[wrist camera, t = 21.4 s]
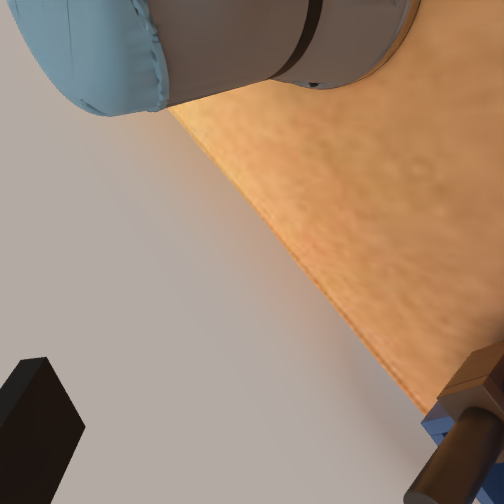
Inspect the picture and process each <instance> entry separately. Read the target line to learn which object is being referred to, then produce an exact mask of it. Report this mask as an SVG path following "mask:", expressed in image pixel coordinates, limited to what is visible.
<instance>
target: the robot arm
mask: <svg viewBox="0 0 504 504" xmlns="http://www.w3.org/2000/svg"><path fill="white" fill-rule="evenodd" d="M419 2H420V0H7V3H8V5H9V8H10V10H11V12H12V14H13V17H14V19H15V21H16V23H17V25H18V28H19V30H20V32H21V34H22V36H23V38H24V40H25V42H26V43H27V45H28V47H29V49H30V51H31V52H32V54H33V55H34V57H35V59H36V60H37V62H38V64H39V65H40V67H41V68H42V70H43V71H44V72H45V74H46V75H47V77H48V78H49V79H50V80H51V82H52V83H53V84H54V85H55V87H56V88H57V89H58V90H59V91H60V92H61V93H62V94H63V95H64V96H65V97H66V98H68V100H70V101H71V102H72V103H73V104H75V105H76V106H78V107H80V108H81V109H83V110H85V111H87V112H89V113H92V114H95V115H99V116H108V117H112V116H118V115H124V114H129V113H135V112H141V111H148V112H158V111H160V110H162V109H164V108H168V107H171V106H175V105H178V104H182V103H185V102H189V101H193V100H196V99H200V98H203V97H207V96H210V95H214V94H218V93H221V92H225V91H228V90H232V89H235V88H239V87H243V86H246V85H250V84H253V83H257V82H260V81H264V80H268V79H272V80H276V81H280V82H285V83H292V84H295V85H298V86H301V87H306V88H311V89H320V90H321V89H332V88H337V87H340V86H344V85H347V84H350V83H353V82H356V81H358V80H361V79H363V78H365V77H367V76H368V75H370V74H372V73H373V72H374V71H376V70H377V69H378V68H380V67H381V66H382V65H383V64H384V63H385V62H386V61H387V60H388V59H389V58H390V57H391V56H392V55H393V53H394V52H395V51H396V49H397V48H398V47H399V45H400V44H401V42H402V41H403V39H404V37H405V36H406V34H407V32H408V30H409V28H410V26H411V24H412V21H413V19H414V17H415V14H416V11H417V8H418V5H419ZM84 429H85V425H84V423H83V421H82V420H81V418H80V416H79V414H78V412H77V410H76V409H75V407H74V405H73V403H72V401H71V400H70V398H69V396H68V394H67V393H66V391H65V389H64V387H63V385H62V384H61V382H60V380H59V378H58V376H57V375H56V373H55V371H54V370H53V368H52V366H51V364H50V362H49V360H48V359H47V357H41V358H33V359H24V360H20V362H19V363H18V365H17V366H16V368H15V369H14V370H13V372H12V373H11V374H10V376H9V377H8V379H7V380H6V382H5V383H4V384H3V386H2V387H1V389H0V504H51V501H52V499H53V497H54V495H55V492H56V491H57V488H58V486H59V484H60V482H61V480H62V477H63V475H64V473H65V471H66V469H67V466H68V464H69V462H70V460H71V458H72V456H73V453H74V451H75V449H76V447H77V445H78V442H79V440H80V438H81V436H82V434H83V431H84Z"/></svg>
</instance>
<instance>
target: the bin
mask: <svg viewBox="0 0 504 504" xmlns="http://www.w3.org/2000/svg"><path fill="white" fill-rule="evenodd" d="M499 388H500V389H501V391H502V392H503V393H504V380H503V382H502V383H501V385H500V386H499ZM454 423H455V422H454V421H453V419H452V418H451V417H450V415H449V414H448V413H447V411H446V410H445V409H444V408H443V406H442V405H441V404H440V402H439V401H437V402H436V404H435V405H434V406H433V408H432V409H431V410H430V411H429V413H428V414H427V415H426V417H425V418H424V419H423V421H422V422H421V424H422V425H423V427H424V428H425V430H426V431H427V432H428V433H429V435H430V436H431V438H432V439H433V440H434V442H435V443H436V444H437V446H439V445H440V443H441V442H442V441H443V439H444V438H445V436H446V435H447V433H448V432H449V431H450V429H451V428H452V426H453V425H454ZM476 498H477V499H478V500H479V502H480V503H481V504H504V462H503V463H495V464H494V466H493V468H492V469H491V471H490V473H489V475H488V476H487V478H486V480H485V482H484V483H483V485H482V487H481V489H480V490H479V492H478V494H477V496H476Z"/></svg>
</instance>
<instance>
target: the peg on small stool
mask: <svg viewBox="0 0 504 504" xmlns="http://www.w3.org/2000/svg"><path fill="white" fill-rule="evenodd" d="M503 380H504V341H502V342H499V343H496V344H493V345H491V346H488V347H485V348H482V349H480V350H477V351H474V352H472V353H471V355H470V356H469V357H468V358H467V360H466V361H465V362H464V363H463V365H462V366H461V367H460V369H459V370H458V371H457V372H456V374H455V375H454V376H453V378H452V379H451V380H450V381H449V383H448V384H447V385H446V386H445V388H444V389H443V391H442V392H441V393H440V394H439V396H438V397H437V400H438V401H439V402H440V404H441V405H442V406H443V408H444V409H445V410H446V411H447V413H448V414H449V415H450V417H451V418H452V419H453V421H454V422H455V423H454V425H453V426H452V428H451V429H450V431H449V432H448V433H447V435H446V436H445V438H444V439H443V441H442V442H441V443H440V445H439V446H438V448H437V449H436V450H435V452H434V453H433V455H432V456H431V458H430V459H429V461H428V462H427V463H426V465H425V466H424V468H423V469H422V470H421V472H420V473H419V475H418V476H417V478H416V479H415V480H414V482H413V483H412V485H411V486H410V488H409V489H408V490H407V492H406V493H405V495H404V499H403V502H404V504H472V503H473V501H474V499H475V497H476V496H477V494H478V492H479V490H480V489H481V487H482V485H483V483H484V482H485V480H486V478H487V476H488V475H489V473H490V471H491V469H492V468H493V466H494V464H495V463H503V462H504V393H503V392H502V391H501V389H500V388H499V386H500V385H501V383H502V382H503Z"/></svg>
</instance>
